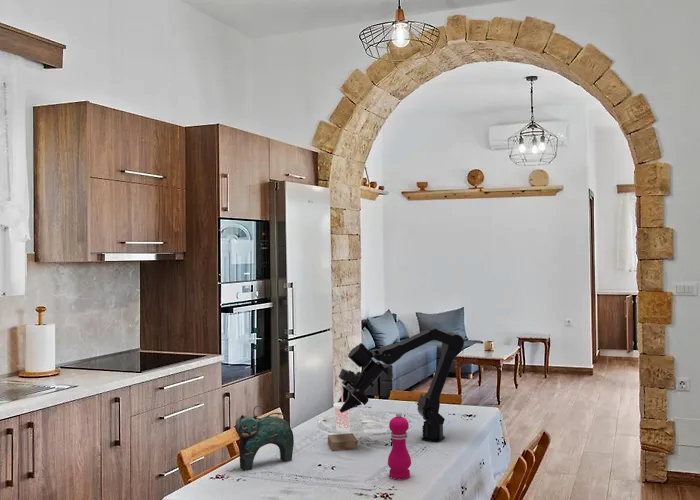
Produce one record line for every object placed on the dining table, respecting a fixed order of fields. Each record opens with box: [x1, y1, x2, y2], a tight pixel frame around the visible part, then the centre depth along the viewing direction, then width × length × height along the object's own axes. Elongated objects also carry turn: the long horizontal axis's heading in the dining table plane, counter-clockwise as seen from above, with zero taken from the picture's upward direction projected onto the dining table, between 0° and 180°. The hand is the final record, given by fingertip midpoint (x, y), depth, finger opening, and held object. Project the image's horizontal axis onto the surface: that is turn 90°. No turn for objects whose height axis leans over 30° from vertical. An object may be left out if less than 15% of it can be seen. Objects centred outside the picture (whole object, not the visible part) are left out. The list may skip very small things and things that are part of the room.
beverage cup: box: [333, 389, 351, 432], centre depth 254 cm, size 6×6×14 cm
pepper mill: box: [387, 411, 412, 480], centre depth 224 cm, size 7×7×20 cm
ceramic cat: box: [234, 404, 295, 472], centre depth 237 cm, size 20×6×20 cm, turn 122°
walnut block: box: [327, 432, 359, 452], centre depth 255 cm, size 9×9×3 cm
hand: (338, 409), depth 254 cm, fingers closed on beverage cup, 6 cm apart
